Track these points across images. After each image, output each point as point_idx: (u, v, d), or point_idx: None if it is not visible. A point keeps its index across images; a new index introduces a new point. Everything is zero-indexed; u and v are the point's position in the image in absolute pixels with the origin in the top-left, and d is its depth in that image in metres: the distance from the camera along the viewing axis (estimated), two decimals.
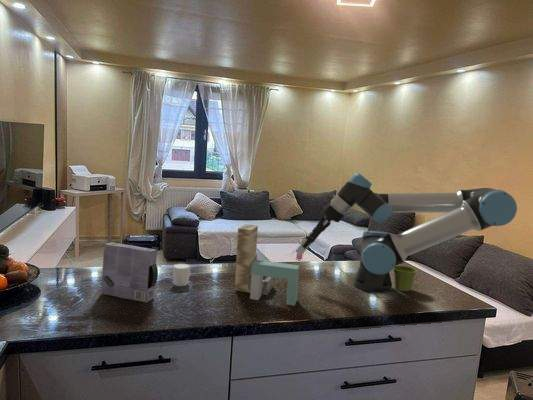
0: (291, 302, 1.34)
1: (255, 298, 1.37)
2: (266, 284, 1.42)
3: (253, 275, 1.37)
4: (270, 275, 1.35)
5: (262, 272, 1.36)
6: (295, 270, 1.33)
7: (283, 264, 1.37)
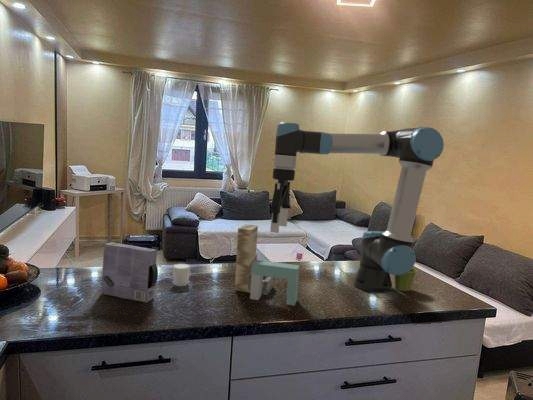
0: (291, 302, 1.34)
1: (255, 298, 1.37)
2: (266, 284, 1.42)
3: (253, 275, 1.37)
4: (270, 275, 1.35)
5: (262, 272, 1.36)
6: (295, 270, 1.33)
7: (283, 264, 1.37)
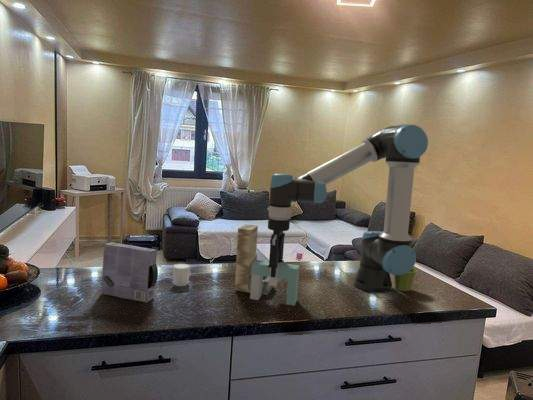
0: (291, 302, 1.34)
1: (255, 298, 1.37)
2: (266, 284, 1.42)
3: (253, 275, 1.37)
4: None
5: (262, 272, 1.36)
6: (295, 270, 1.33)
7: (283, 264, 1.37)
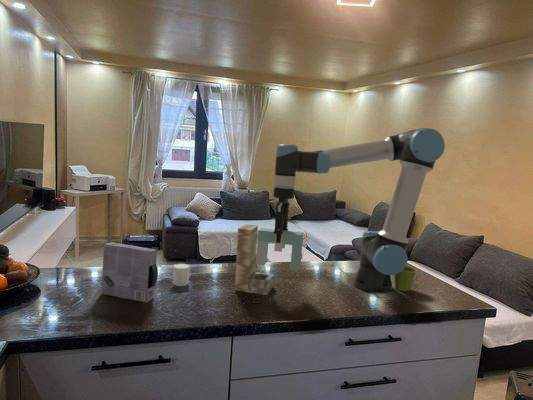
0: (295, 267, 1.41)
1: (261, 263, 1.44)
2: (266, 284, 1.42)
3: (259, 241, 1.44)
4: None
5: (267, 238, 1.43)
6: (299, 236, 1.40)
7: (288, 231, 1.44)
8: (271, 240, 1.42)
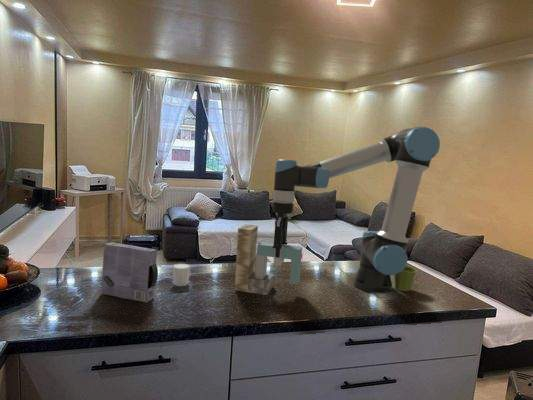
0: (294, 281, 1.42)
1: (260, 277, 1.45)
2: (266, 284, 1.42)
3: (258, 256, 1.44)
4: None
5: (266, 252, 1.43)
6: (298, 251, 1.41)
7: (287, 245, 1.45)
8: (270, 254, 1.43)
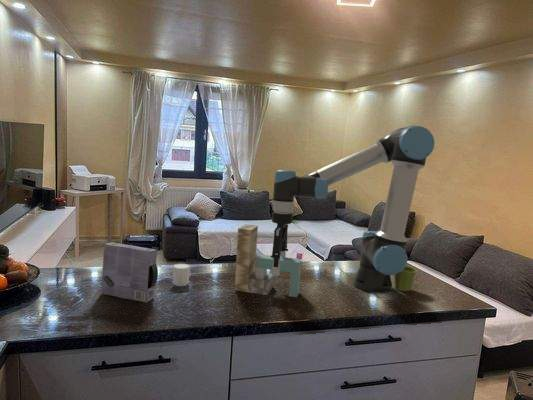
0: (294, 294, 1.43)
1: None
2: (266, 284, 1.42)
3: (258, 268, 1.45)
4: None
5: (266, 265, 1.44)
6: (297, 264, 1.41)
7: (286, 258, 1.46)
8: (270, 267, 1.44)
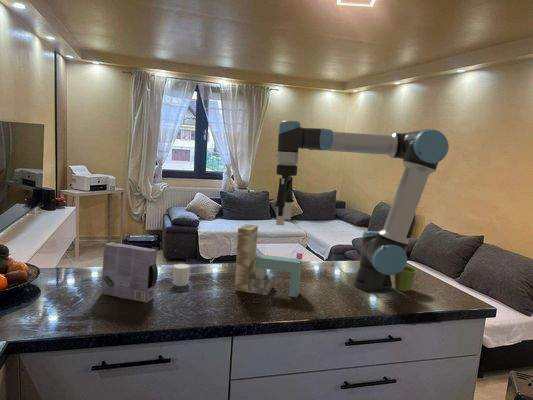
0: (294, 294, 1.43)
1: None
2: (266, 284, 1.42)
3: (258, 268, 1.45)
4: (274, 268, 1.43)
5: (266, 265, 1.44)
6: (297, 264, 1.41)
7: (286, 258, 1.46)
8: (270, 267, 1.44)
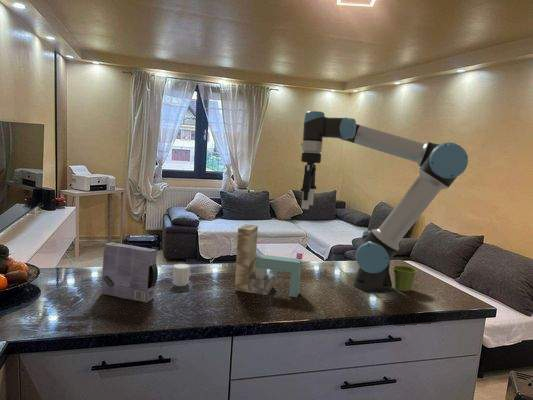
0: (294, 294, 1.43)
1: None
2: (266, 284, 1.42)
3: (258, 268, 1.45)
4: (274, 268, 1.43)
5: (266, 265, 1.44)
6: (297, 264, 1.41)
7: (286, 258, 1.46)
8: (270, 267, 1.44)
